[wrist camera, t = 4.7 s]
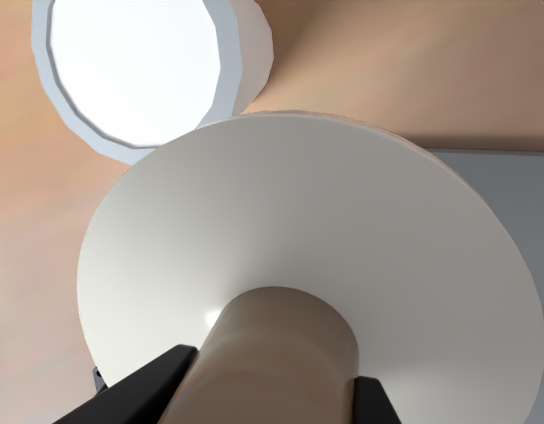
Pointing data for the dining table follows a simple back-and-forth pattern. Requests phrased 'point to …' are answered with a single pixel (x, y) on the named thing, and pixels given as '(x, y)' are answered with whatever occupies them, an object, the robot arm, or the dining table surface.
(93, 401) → the robot arm
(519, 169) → the mat
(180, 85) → the white cup
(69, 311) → the dining table surface
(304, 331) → the lid
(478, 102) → the dining table surface
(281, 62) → the dining table surface
